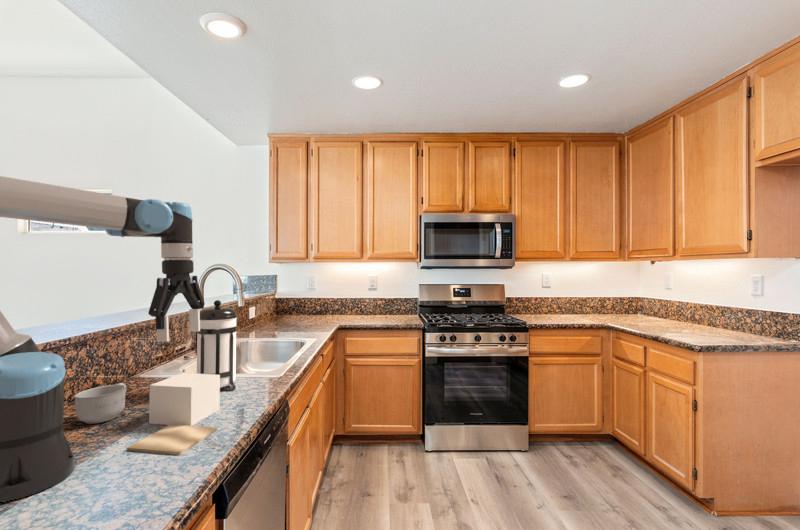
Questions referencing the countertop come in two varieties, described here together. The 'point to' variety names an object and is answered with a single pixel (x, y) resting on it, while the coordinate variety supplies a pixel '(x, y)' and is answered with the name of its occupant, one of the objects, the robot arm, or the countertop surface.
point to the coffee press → (217, 344)
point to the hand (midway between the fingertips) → (180, 336)
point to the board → (172, 439)
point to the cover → (184, 399)
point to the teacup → (100, 403)
